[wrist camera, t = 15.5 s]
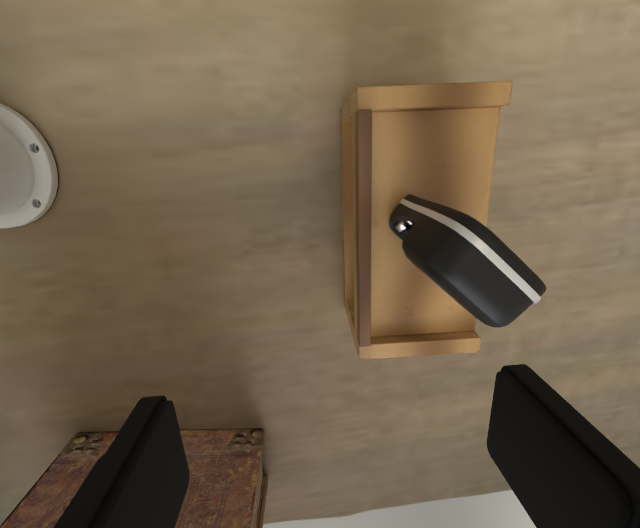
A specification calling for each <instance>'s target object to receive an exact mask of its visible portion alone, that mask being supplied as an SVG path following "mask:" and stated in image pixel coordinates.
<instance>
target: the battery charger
mask: <svg viewBox="0 0 640 528" xmlns="http://www.w3.org/2000/svg"><path fill="white" fill-rule="evenodd" d="M399 203H400V204H399V205H398V206H397V207H396V208H395V209H394V211H393V213H392V214H391V216H390V219H389V227H390V229H391V230H392V231H393V232H394V233H395V234H396V235H397V236H398V237H399V238H400V239H402V240H403V242H402V248H403V250H404V253H405V256H406V257H407V258H408V259H409V260H410V261H411V262H412V263H413V264H414V265H415V266H416V267H417V268H418V269H420V270H421V271H422V272H423V273H424V274H425V275H427V276H428V277H429V278H430V279H431V280H432V281H433V282H435V283H436V284H437V285H438V286H439V287H440V288H441V289H443V290H444V291H445V292H446V293H447V294H448V295H450V296H451V297H452V298H453V299H454V300H455V301H456V302H458V303H459V304H460V305H461V306H462V307H463V308H465V309H466V310H467V311H468V312H470V313H471V314H472V315H473V316H475V317H476V318H477V319H479V320H480V321H481V322H483V323H484V324H486V325H489V326H492V327H503V326H506V325H508V324H510V323H511V322H512V321H514V320H515V319H516V318H517V317H518V316H519V315H520V314H522V313H523V312H524V311H525V310H526V309H527V308H528V307H529V306H530V305H531V304H536V303H537V302H538V301H539V300H540V299H541V298H540V296H541V295H543V293H544V292H545V291H546V286H545V284H544V283H543V282H542V280H541V279H540V278H539V277H538V276H537V275H536V274H535V273H534V272H533V271H532V270H531V269H530V268H529V267H528V266H527V265H526V264H525V263H524V262H523V261H522V260H521V259H520V258H519V257H518V256H517V255H516V254H515V253H514V252H512V251H511V250H510V249H509V248H508V247H507V246H506V245H505V244H504V243H503V242H502V241H501V240H500V239H499V238H498V237H497V236H496V235H495V234H494V233H493V232H492V231H490V230H489V229H488V228H487V227H486V226H484V225H483V224H482V223H480V222H479V221H478V220H476V219H474V218H473V217H471V216H469V215H467V214H465V213H463V212H460V211H458V210H455V209H452V208H450V207H447V206H444V205H441V204H438V203H435V202H432V201H428V200H425V199H422V198H419V197H417V196H414V195H411V194H409V195H407V196H406V197H405V198H404V199H402V200H401V201H400V202H399Z"/></svg>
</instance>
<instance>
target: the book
mask: <svg viewBox="0 0 640 528" xmlns="http://www.w3.org/2000/svg"><path fill="white" fill-rule="evenodd" d="M118 433H119V432H92V433H77V434H76V435H75V436H74V437H73V438H72V439H71V441H70V442H69V443H68V444H67V446H66V447H65V448H64V449H63V450H62V452H61V453H60V454H59V455H58V456H57V458H56V459H55V460H54V461H53V463H52V464H51V465H50V466H49V467H48V469H47V470H46V471H45V472H44V473H43V475H42V476H41V477H40V478H39V480H38V481H37V482H36V483H35V484H34V486H33V487H32V488H31V489H30V490H29V492H28V493H27V494H26V495H25V497H24V498H23V499H22V500H21V501H20V503H19V504H18V505H17V506H16V507H15V509H14V510H13V511H12V512H11V514H10V515H9V516H8V517H7V518H6V520H5V521H4V522H3V523H2V524H1V526H0V528H54V526H55V525H56V523H57V522H58V520H59V518H60V517H61V515H62V514H63V512H64V511H65V509H66V508H67V506H68V505H69V503H70V502H71V500H72V499H73V497H74V496H75V494H76V492H77V491H78V489H79V488H80V486H81V485H82V483H83V482H84V480H85V479H86V477H87V476H88V474H89V473H90V471H91V469H92V468H93V466H94V465H95V463H96V462H97V461H98V459H99V458H100V457H101V456H102V455H104V454H105V453H106V451H107V450H108V448H109V447H110V445H111V443H112V442H113V440H114V439H115V437H116V436H117V434H118ZM180 434H181V438H182V442H183V446H184V451H185V455H186V459H187V463H188V467H189V472H190V479H189V485H188V489H187V492H186V495H185V498H184V501H183V504H182V507H181V510H180V513H179V516H178V519H177V522H176V525H175V528H262V527H263V518H264V510H265V502H266V493H267V485H268V477H267V476H263V468H262V447H263V440H264V430H263V429H261V428H254V429H213V430H180Z"/></svg>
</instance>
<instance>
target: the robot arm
mask: <svg viewBox="0 0 640 528" xmlns="http://www.w3.org/2000/svg"><path fill="white" fill-rule="evenodd" d="M57 187H58V173H57V168H56V163H55V160H54V157H53V155H52V152H51V150H50V148H49V146H48V145H47V143H46V141H45V140H44V138H43V136H42V135H41V134H40V133H39V132H38V130H37V129H36V128H35V127H34V126H33V125H32V124H31V123H30V122H29V121H28V120H27V119H26V118H25V117H23V116H22V115H21V114H19V113H18V112H16V111H15V110H13V109H12V108H10V107H8V106H6V105H4V104H1V103H0V228H4V229H5V228H13V227H19V226H23V225H26V224H29V223H31V222H33V221H36V220H38V219H39V218H40V217H41V216H43V215H44V214H45V213H46V212H47V211H48V209H49V208H50V207H51V205H52V203H53V201H54V199H55V196H56V192H57ZM487 448H488V451H489V454H490V456H491V457H492V459H493V461H494V462H495V464H496V465H497V467H498V468H499V470H500V471H501V473H502V475H503V476H504V478H505V479H506V481H507V482H508V484H509V485H510V487H511V489H512V490H513V492H514V493H515V495H516V496H517V498H518V499H519V501H520V503H521V504H522V506H523V507H524V509H525V510H526V512H527V513H528V515H529V517H530V518H531V520H532V521H533V523H534V524H535V526H536V527H537V528H640V468H639V467H638V466H637V465H636V464H634V463H633V462H632V461H631V460H630V459H629V458H628V457H627V456H626V455H625V454H623V453H622V452H621V451H620V450H619V449H618V448H617V447H616V446H615V445H614V444H613V443H611V442H610V441H609V440H608V439H607V438H606V437H605V436H604V435H603V434H602V433H601V432H599V431H598V430H597V429H596V428H595V427H594V426H593V425H592V424H591V423H590V422H589V421H587V420H586V419H585V418H584V417H583V416H582V415H581V414H580V413H579V412H578V411H576V410H575V409H574V408H573V407H572V406H571V405H570V404H569V403H568V402H567V401H566V400H564V399H563V398H562V397H561V396H560V395H559V394H558V393H557V392H556V391H555V390H554V389H552V388H551V387H550V386H549V385H548V384H547V383H546V382H545V381H544V380H543V379H542V378H540V377H539V376H538V375H537V374H536V373H535V372H534V371H533V370H532V369H531V368H529V367H528V366H527V365H524V364H520V365H508V366H503V367H502V369H501V371H500V372H498V373H497V375H496V380H495V387H494V394H493V402H492V409H491V416H490V423H489V430H488V437H487ZM189 479H190V472H189V467H188V463H187V459H186V455H185V451H184V446H183V442H182V438H181V434H180V430H179V425H178V421H177V417H176V413H175V409H174V405H173V402H172V401H167V399H166V397H165V396H153V397H143V398H141V399H140V400H139V401H138V403H137V405H136V406H135V408H134V409H133V411H132V412H131V414H130V415H129V417H128V419H127V420H126V422H125V423H124V425H123V426H122V428H121V429H120V431H119V433H118V434H117V436H116V437H115V439H114V440H113V442H112V443H111V445H110V447H109V448H108V450H107V451H106V453H105V454H104V455H102V456H101V457H100V458H99V459H98V461H97V462H96V463H95V465H94V466H93V468H92V469H91V471H90V473H89V474H88V476H87V477H86V479H85V480H84V482H83V483H82V485H81V486H80V488H79V489H78V491H77V492H76V494H75V496H74V497H73V499H72V500H71V502H70V503H69V505H68V506H67V508H66V509H65V511H64V512H63V514H62V515H61V517H60V518H59V520H58V522H57V523H56V525H55V526H54V528H175V525H176V522H177V519H178V516H179V513H180V510H181V507H182V504H183V501H184V498H185V495H186V492H187V489H188V485H189Z"/></svg>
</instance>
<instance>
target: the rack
mask: <svg viewBox="0 0 640 528" xmlns="http://www.w3.org/2000/svg"><path fill="white" fill-rule="evenodd" d="M511 90H512V81H497V82H472V83H447V84H422V85H397V86H372V87H357V88H356V90H355V91H354V92H353V94H352V95H351V96H350V98H349V99H348V100H347V102H346V103H345V104H344V105H343V107H342V108H341V109H340V112H341V158H342V204H343V250H344V296H345V309H346V313H347V316H348V320H349V324H350V327H351V331H352V335H353V339H354V342H355V346H356V350H357V353H358V357H359V359H376V358H392V357H407V356H423V355H439V354H454V353H470V352H479V348H480V340H481V337H480V336H479V335H478V334H477V333H476V332H475V331H474V329H475V321H476V317H475V316H473V315H472V314H471V313H470V312H468V311H467V310H466V309H465V308H463V307H462V306H461V305H460V304H459V303H458V302H456V301H455V300H454V299H453V298H452V297H451V296H450V295H448V294H447V293H446V292H445V291H444V290H443V289H441V288H440V287H439V286H438V285H437V284H436V283H435V282H433V281H432V280H431V279H430V278H429V277H428V276H427V275H425V274H424V273H423V272H422V271H421V270H420V269H418V268H417V267H416V266H415V265H414V264H413V263H412V262H411V261H410V260H409V259H408V258H407V257H406V256H405V253H404V250H403V248H402V242H403V240H402V239H400V238H399V237H398V236H397V235H396V234H395V233H394V232H393V231H392V230H391V229H390V227H389V219H390V216H391V214H392V213H393V211H394V209H395V208H396V207H397V206H398V205H399V204H400V203H399V202H400V201H401V200H402V199H404V198H405V197H406V196H407V195H409V194H411V195H414V196H417V197H419V198H422V199H425V200H428V201H432V202H435V203H438V204H441V205H444V206H447V207H450V208H452V209H455V210H458V211H460V212H463V213H465V214H467V215H469V216H471V217H473V218H474V219H476V220H478V221H479V222H480V223H482V224H483V225H484V226H487V218H488V209H489V200H490V192H491V183H492V175H493V166H494V157H495V149H496V140H497V132H498V123H499V114H500V106H504V105H508V104H510V98H511Z"/></svg>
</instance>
